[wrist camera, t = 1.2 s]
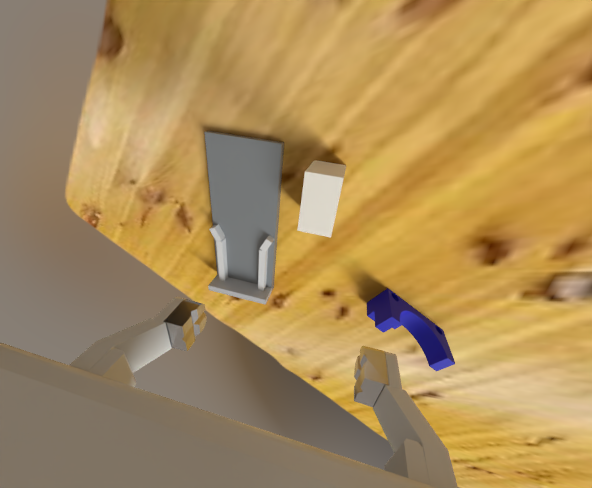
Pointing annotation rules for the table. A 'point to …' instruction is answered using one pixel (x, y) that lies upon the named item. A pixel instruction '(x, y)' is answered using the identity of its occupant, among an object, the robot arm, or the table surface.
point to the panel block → (320, 197)
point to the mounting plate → (244, 212)
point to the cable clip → (411, 327)
